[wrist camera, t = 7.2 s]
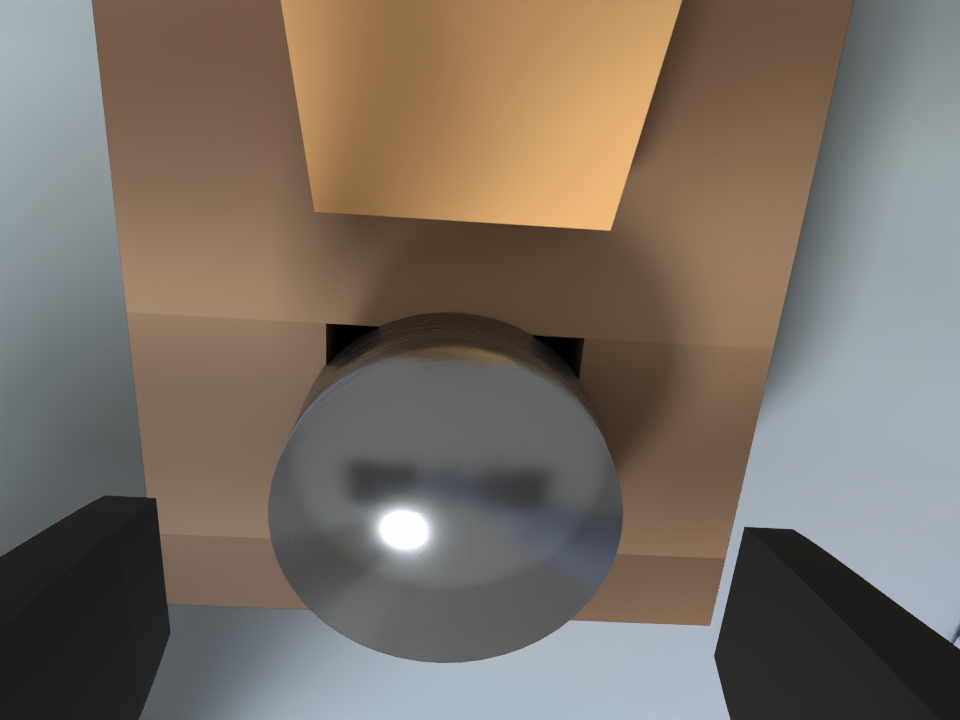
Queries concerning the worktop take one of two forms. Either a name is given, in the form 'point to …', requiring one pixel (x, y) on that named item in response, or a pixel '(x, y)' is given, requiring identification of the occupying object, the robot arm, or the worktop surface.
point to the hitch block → (455, 281)
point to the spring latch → (475, 105)
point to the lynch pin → (446, 491)
